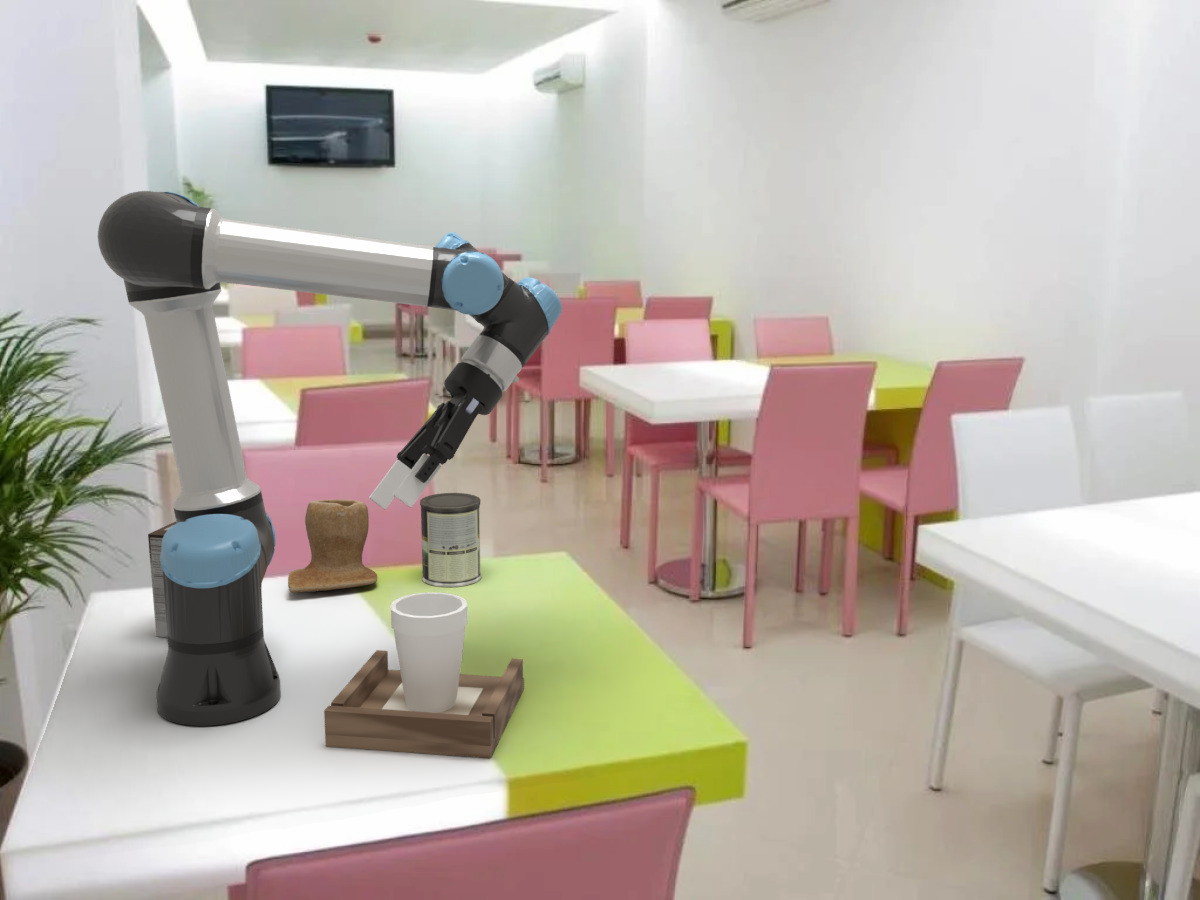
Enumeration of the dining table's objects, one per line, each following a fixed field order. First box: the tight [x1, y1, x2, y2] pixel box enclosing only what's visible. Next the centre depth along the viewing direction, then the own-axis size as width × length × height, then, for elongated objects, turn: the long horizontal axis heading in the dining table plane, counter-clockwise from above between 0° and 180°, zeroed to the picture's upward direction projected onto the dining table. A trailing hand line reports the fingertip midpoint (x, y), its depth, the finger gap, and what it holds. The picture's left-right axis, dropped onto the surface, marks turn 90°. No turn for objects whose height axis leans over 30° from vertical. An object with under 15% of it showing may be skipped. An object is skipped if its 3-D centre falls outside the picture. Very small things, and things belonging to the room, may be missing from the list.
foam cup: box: [390, 591, 468, 713], centre depth 141 cm, size 10×9×13 cm
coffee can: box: [419, 492, 482, 588], centre depth 195 cm, size 10×10×14 cm
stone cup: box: [287, 498, 378, 594], centre depth 190 cm, size 15×12×15 cm
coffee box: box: [147, 521, 177, 638], centre depth 170 cm, size 9×6×16 cm
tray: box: [323, 649, 525, 759], centre depth 142 cm, size 20×20×4 cm
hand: (388, 502), depth 147 cm, fingers open, 13 cm apart
